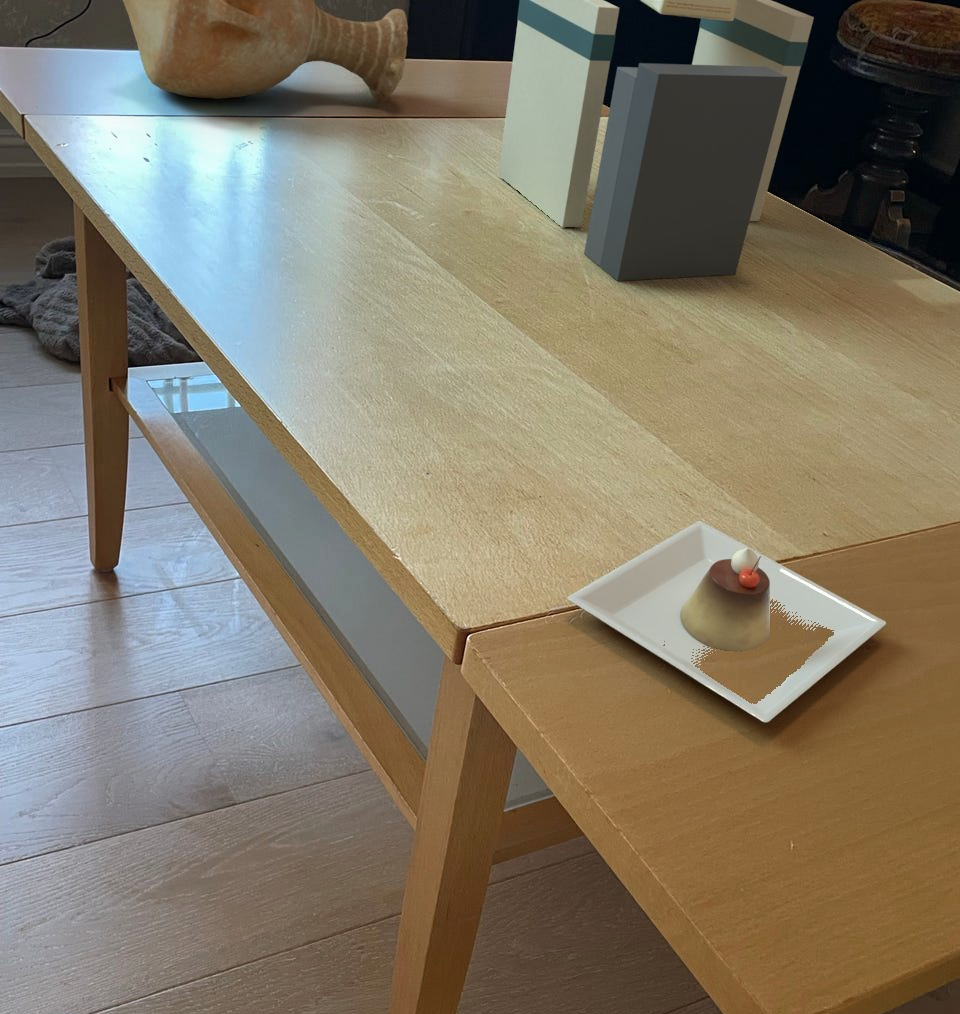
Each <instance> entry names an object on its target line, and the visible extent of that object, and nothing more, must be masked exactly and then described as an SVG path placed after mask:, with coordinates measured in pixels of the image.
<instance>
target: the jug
mask: <svg viewBox="0 0 960 1014" xmlns="http://www.w3.org/2000/svg"><path fill="white" fill-rule="evenodd" d="M122 2H123V4H124V7H125V9H126V11H127V14H128V18H129V21H130V25H131V28H132V32H133V35H134V38H135V41H136V44H137V48H138V49H137V50H138V53H139V56H140V61H141V63H142V67H143V70H144V72H145V74H146V76H147V77H146V78H148V80H149V81H150V82H151V84H152V85H154V86H155V87H158V88H159V89H161V90H163V91H164V92H168V93H173V94H176V95H180V96H184V97H187V98H188V97H189V98H198V99H216V100H221V99H222V100H223V99H229V98H231V99H233V98H241V97H247V96H252V95H256V94H260V93H264V92H266V91H268V90H270V89H272V88H274V87H276V86H277V85H279V84H280V83H282V82H283V81H285V80H286V79H288V78H289V77H290V76H291V75H292V74H293V73H294V72H295V71H296V70H297V69H298V68H300V66H302V65H304V64H306V63H312V62H323V63H324V62H325V63H329V64H334V65H335V66H339V67H341V68H343V69H344V70H346V71H349V72H350V73H352V74H354V75H356V76H357V77H359V78H360V79H362V81H363V82H364V84H365V85H366V86H367V87H368V90H369V92H370V95H371V96H373V97H372V98H373V99H374V100H375V101H376V100H377V101H376V102H378V101H379V103H383V102H385V101H387V99H389V97H390V96H391V95H392V94H393V93H394V92H395V90H396V89H397V87H398V85H399V83H400V81H401V80H402V78H403V75H404V70H405V64H406V57H407V47H408V30H409V26H408V19H407V15H406V13H405V11H404V10H403V9H401V8H394V9H391V10H390V11H389V12H387V13H386V14H385V15H384V16H383V17H382V19H379V20H376V21H354V20H348V19H344V18H339V17H336V16H334V15H333V14H330V13H328V12H325V11H323V10H322V9H320V8H319V7H318V6H317V4H316V2H315V1H314V0H122Z"/></svg>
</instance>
